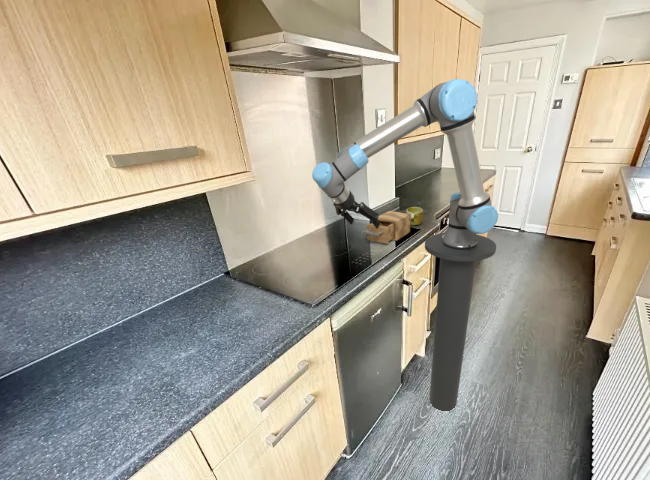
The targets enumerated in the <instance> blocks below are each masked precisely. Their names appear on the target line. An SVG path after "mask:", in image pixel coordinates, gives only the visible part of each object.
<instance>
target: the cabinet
mask: <svg viewBox="0 0 650 480" xmlns="http://www.w3.org/2000/svg"><path fill="white" fill-rule="evenodd" d="M410 217H411V214H408V213H406V212H400V211H393V210H392V211H391V210H388V211H386V212H384V213H382V214H379V217H378V220H380V221H387V222H393V223H395V238H393V239H392V240H391V241H396V242H397V241H398V240H401V239H402V238H403V237H404V236H406V235H408V234H409V233H411V225H410Z"/></svg>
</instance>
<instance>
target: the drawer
mask: <svg viewBox="0 0 650 480" xmlns="http://www.w3.org/2000/svg"><path fill="white" fill-rule="evenodd" d="M379 222H380V225H379V228H378V229H377V228H376V227H375V226H374V225H373V223H372V222H371V223H367V224H366V230H362V235H366V236H367V237H366V238H367V241H372V242H377V243H381V244H389V243H390V241H393V240H392V239H393V238H395V223H393V222H387V221H380V220H379Z"/></svg>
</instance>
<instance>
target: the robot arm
mask: <svg viewBox="0 0 650 480" xmlns="http://www.w3.org/2000/svg"><path fill="white" fill-rule="evenodd" d="M477 104H478V94H477V90H476V88H475V87H474V85H473V84H472V83H471V82H470V81H468V80H466V79H464V78H463V79H461V78H454V79H451V80H448V81H445V82H441V83H439V84H437V85H436V86H434V87H432V88H431V89H430V90H429V91H428V92H426V93H425V94H423V95H422V96H421V97H419V98H417V99H416V100H415V101H414V102H413V104H412V106H410V107H408V108H407V109H406V110H404V111H403V112H401V113H399V114H397V115H396V116H394V117H393V118H390V119H389V120H387V121H386V122H385V123H383V124H381V125H380V126H378V127H377V128H375V129H373V130H371V131H370V132H368V133H366V134H365V135H364V136H362V137H360V138H358V139H357V140H355V141H354V142H352V143H350V144H349V145H347V146H343V147H342V148H341V149H339V151H338V153H337V157H336V159H335V160H334V161H333V162H330V163H328V162H325V161H322V162H321V163H317V164H316V165H315V167H314V168H313V170H312V173H311V177H312V180H313V181H314V182H315V184H317V186H318V188H319V189H321V190H322V191H323V192H324V193H325V195H326V196H327V197H328V198H329V199H330V200H331V201H332V202H333V204H332V205H333V207H334V208H335V213H336V215H337V216H341V217H342V218H344V219H345V220H346V221H347V222H348V223H349V224H350V225H353V224H354V220H355V218H354V217H353V216H352V215H351V214H350V212H353V213H355V214H356V215H357V214H360V215H361V216H363V217H365V218H367V219H369V220H370V222H371V223H373V225H374V226H375V227H376V228H377V229H378V228H379V225H380V222H379V220H378V217H379V216H380V214H379V213H378V212H376V211H375V210H374V209H372V208H371V207H369V206H367V205H366V204H365V202H363V201H361V202H360V203H359V202H357V201H356V200H355V196H354V194H353V192H352V191H351V190H350V188H349V187H348V186H347V185H346V183H345V182H346V181H347V180H349V179H350V178H351V177H352V176H354V175H356V174H357V173H358V172H360V171H361V170H362V169H364V167H365V166H367V164H369V158H371V157H372V156H374V155H376V154H377V153H379V152H381V151H383V150H384V149H386V148H388V147H389V146H391V145H392V144H394V143H396V142H398V141H399V140H401V139H403V138H405V137H406V136H407V135H409V134H411V133H413V132H414V131H416V130H418V129H419V128H421V127H424V128H426V127H428V126H429V125H432V124H434V123H437V122H438V125H439V128H440V132H441V133H442V134H445V135H446V137H447V143H448V146H449V150H450V155H451V156H450V157H451V160H452V163H453V164H452V165H453V169H454V172H455V177H456V180H457V185H458V190H459V192H454V193H452V194H451V195H450V200H449V212H448V224H447V228H446V230H445V232H444V233H445V234H444V235H442V238H443V244H444V245H445V246H447V247H449V248H453V249H470V250H472V248H474V247H476V246H477V242H478V241H477V235H483V234H487V233H488V232H490V231H491V230H492V229H493V228H495V226H496V224H497V223H498V219H499V213H498V210H497V209H496V207H494V206H493V205H492V201H491V195H490V193H488V192H487V191H485V187H484V183H483V177H482V173H481V166H480V161H479V157H478V151H477V146H476V141H475V136H474V131H473V124H474V122H475V120H476V115H475V109H476V107H477ZM476 234H477V235H476Z"/></svg>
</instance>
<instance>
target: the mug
mask: <svg viewBox="0 0 650 480" xmlns="http://www.w3.org/2000/svg"><path fill="white" fill-rule="evenodd" d="M405 213H408V214H411V217H410V227H411V226H419V225H421V224H422V222H423V218H424V209H423V208H422V207H420V206H410V207H408V208H406V210H405Z"/></svg>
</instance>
